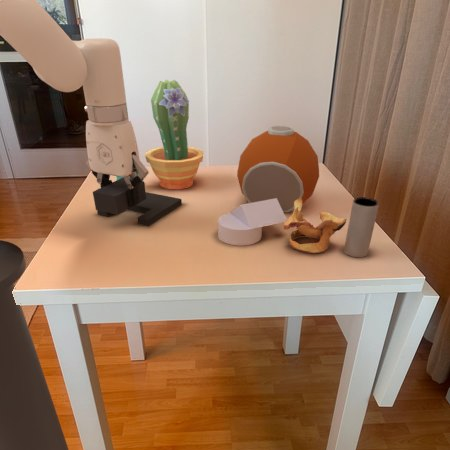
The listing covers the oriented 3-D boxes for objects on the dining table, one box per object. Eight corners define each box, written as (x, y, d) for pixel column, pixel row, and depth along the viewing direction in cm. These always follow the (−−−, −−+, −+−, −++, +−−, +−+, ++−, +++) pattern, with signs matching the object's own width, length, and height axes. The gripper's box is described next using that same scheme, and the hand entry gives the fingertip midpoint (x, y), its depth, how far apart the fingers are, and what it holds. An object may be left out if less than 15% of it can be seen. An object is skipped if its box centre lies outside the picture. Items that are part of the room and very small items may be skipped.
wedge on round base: (263, 220, 94) (211, 231, 89) (265, 191, 90) (210, 201, 85) (286, 236, 87) (230, 249, 82) (288, 205, 83) (231, 217, 79)
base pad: (97, 214, 96) (96, 208, 95) (134, 195, 106) (133, 189, 106) (148, 226, 91) (147, 219, 90) (181, 204, 101) (181, 198, 100)
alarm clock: (318, 194, 107) (328, 122, 98) (311, 221, 93) (321, 140, 84) (245, 187, 112) (248, 117, 102) (228, 211, 98) (229, 134, 88)
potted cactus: (138, 190, 109) (126, 83, 95) (159, 172, 121) (151, 75, 107) (195, 196, 106) (191, 86, 92) (211, 176, 119) (209, 77, 104)
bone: (286, 258, 79) (291, 216, 75) (274, 235, 87) (277, 197, 83) (347, 254, 81) (355, 213, 76) (329, 232, 89) (335, 194, 84)
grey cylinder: (371, 257, 80) (383, 205, 74) (348, 258, 80) (358, 206, 74) (362, 246, 84) (373, 196, 78) (340, 247, 83) (349, 197, 77)
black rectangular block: (95, 209, 89) (92, 191, 87) (124, 194, 96) (122, 177, 94) (118, 214, 87) (115, 196, 85) (146, 198, 94) (144, 181, 92)
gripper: (60, 113, 82) (79, 201, 92) (132, 121, 75) (144, 215, 85) (86, 106, 87) (101, 191, 97) (156, 114, 81) (164, 203, 91)
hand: (121, 201), depth 91 cm, fingers closed on black rectangular block, 6 cm apart
